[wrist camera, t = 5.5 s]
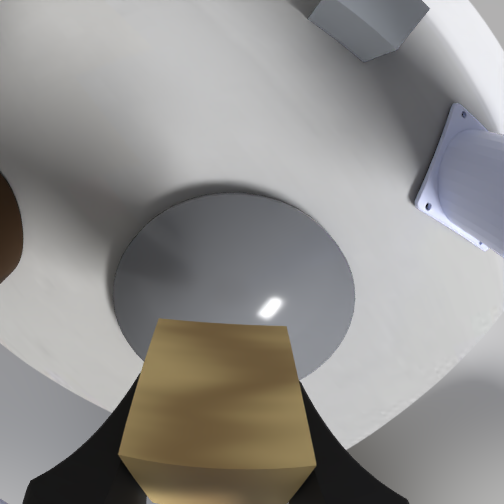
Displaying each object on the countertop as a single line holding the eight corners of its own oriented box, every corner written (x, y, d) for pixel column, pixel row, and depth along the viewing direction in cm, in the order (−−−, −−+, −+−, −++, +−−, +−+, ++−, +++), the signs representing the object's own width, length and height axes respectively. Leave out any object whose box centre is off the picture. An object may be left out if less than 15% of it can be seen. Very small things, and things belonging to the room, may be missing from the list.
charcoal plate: (390, 245, 18) (397, 251, 17) (290, 399, 24) (291, 407, 23) (144, 155, 15) (138, 158, 14) (110, 355, 21) (107, 363, 20)
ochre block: (286, 326, 11) (316, 465, 6) (269, 400, 13) (282, 508, 8) (158, 318, 11) (118, 454, 5) (169, 395, 13) (152, 502, 7)
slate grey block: (394, 24, 12) (430, 8, 8) (363, 62, 13) (396, 50, 9) (343, -17, 11) (368, -44, 7) (307, 19, 12) (327, -7, 8)
